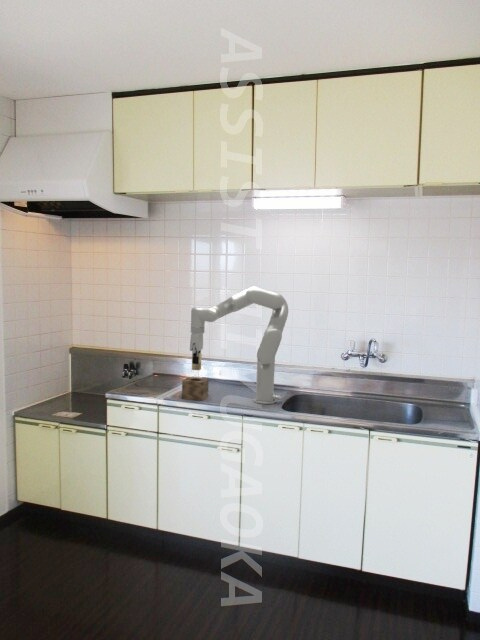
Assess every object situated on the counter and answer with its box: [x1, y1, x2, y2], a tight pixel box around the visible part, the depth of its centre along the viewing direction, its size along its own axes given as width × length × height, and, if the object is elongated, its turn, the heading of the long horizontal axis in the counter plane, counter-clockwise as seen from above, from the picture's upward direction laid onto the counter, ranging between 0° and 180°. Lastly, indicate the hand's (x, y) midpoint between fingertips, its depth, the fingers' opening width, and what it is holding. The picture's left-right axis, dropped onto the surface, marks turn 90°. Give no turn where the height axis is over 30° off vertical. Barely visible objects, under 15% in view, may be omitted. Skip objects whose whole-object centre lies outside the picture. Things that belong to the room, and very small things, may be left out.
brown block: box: [181, 376, 210, 401], centre depth 286 cm, size 12×10×10 cm
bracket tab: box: [191, 352, 203, 371], centre depth 284 cm, size 4×3×9 cm
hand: (196, 362), depth 284 cm, fingers closed on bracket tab, 3 cm apart
